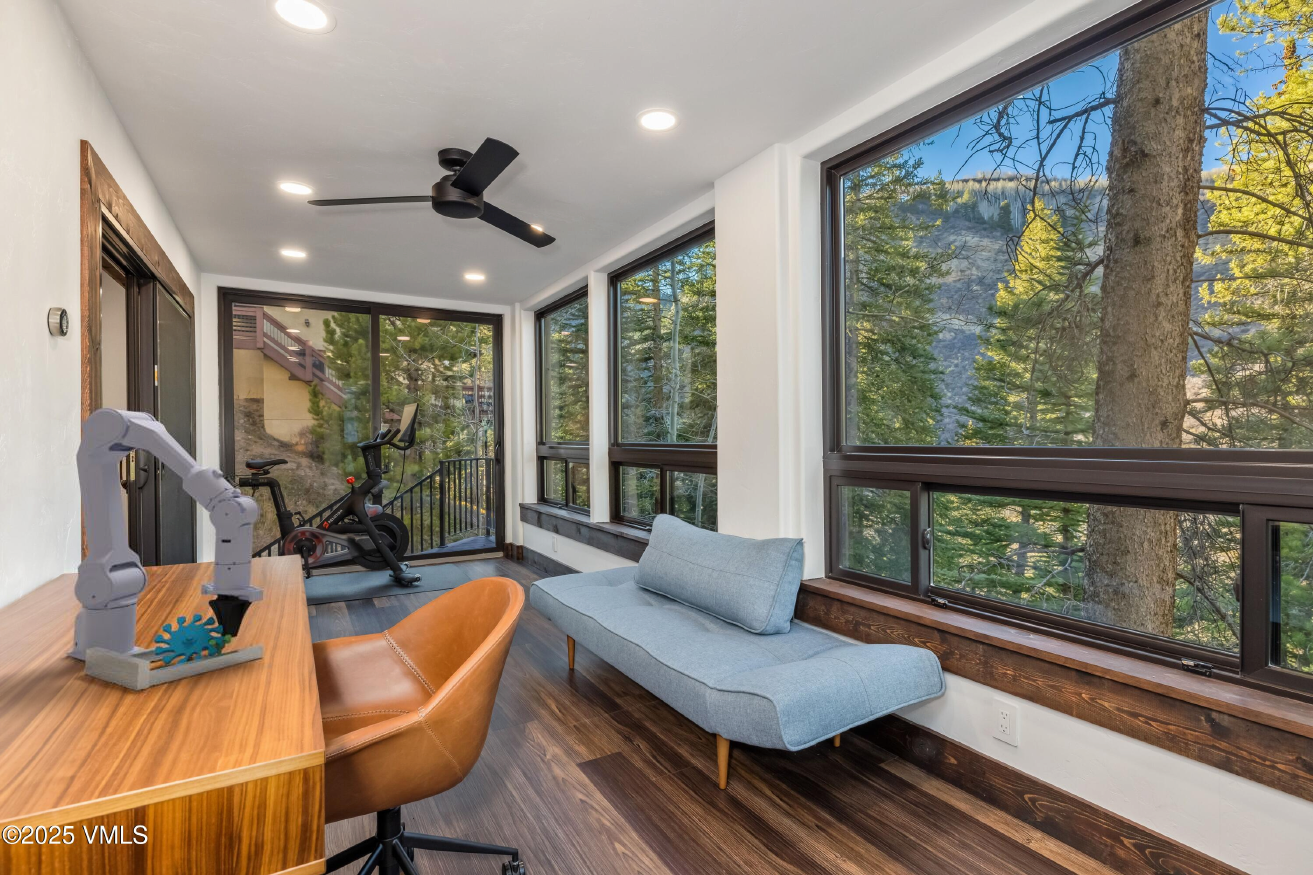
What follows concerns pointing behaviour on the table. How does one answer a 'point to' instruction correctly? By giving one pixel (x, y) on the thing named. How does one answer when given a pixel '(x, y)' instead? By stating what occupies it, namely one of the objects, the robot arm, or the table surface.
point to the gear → (191, 640)
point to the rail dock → (137, 674)
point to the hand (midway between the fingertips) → (229, 637)
